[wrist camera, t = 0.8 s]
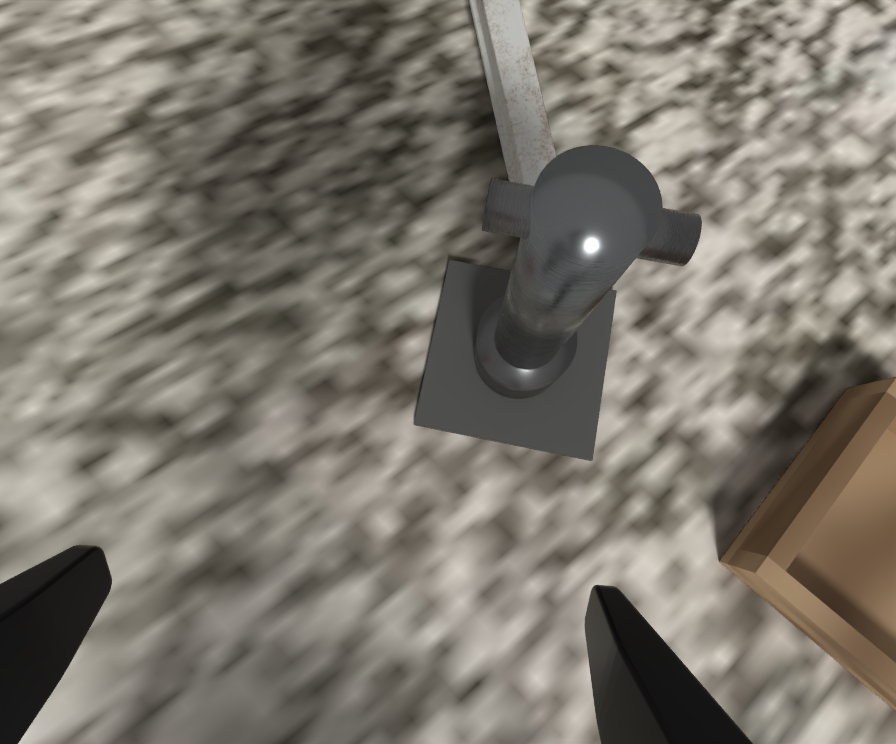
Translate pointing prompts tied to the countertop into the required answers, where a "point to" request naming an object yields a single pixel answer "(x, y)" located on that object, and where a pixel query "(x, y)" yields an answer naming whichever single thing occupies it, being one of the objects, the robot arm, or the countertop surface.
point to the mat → (492, 415)
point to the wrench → (513, 88)
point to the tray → (835, 538)
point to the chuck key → (569, 259)
